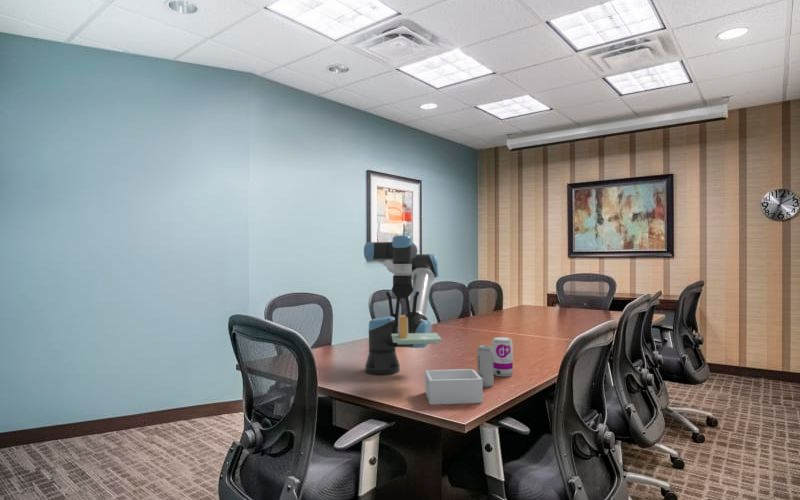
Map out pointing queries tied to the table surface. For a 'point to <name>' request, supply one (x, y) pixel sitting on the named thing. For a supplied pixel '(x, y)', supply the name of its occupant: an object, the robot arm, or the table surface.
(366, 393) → the table surface
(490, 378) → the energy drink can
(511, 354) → the supplement can
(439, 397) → the tub
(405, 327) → the lid
